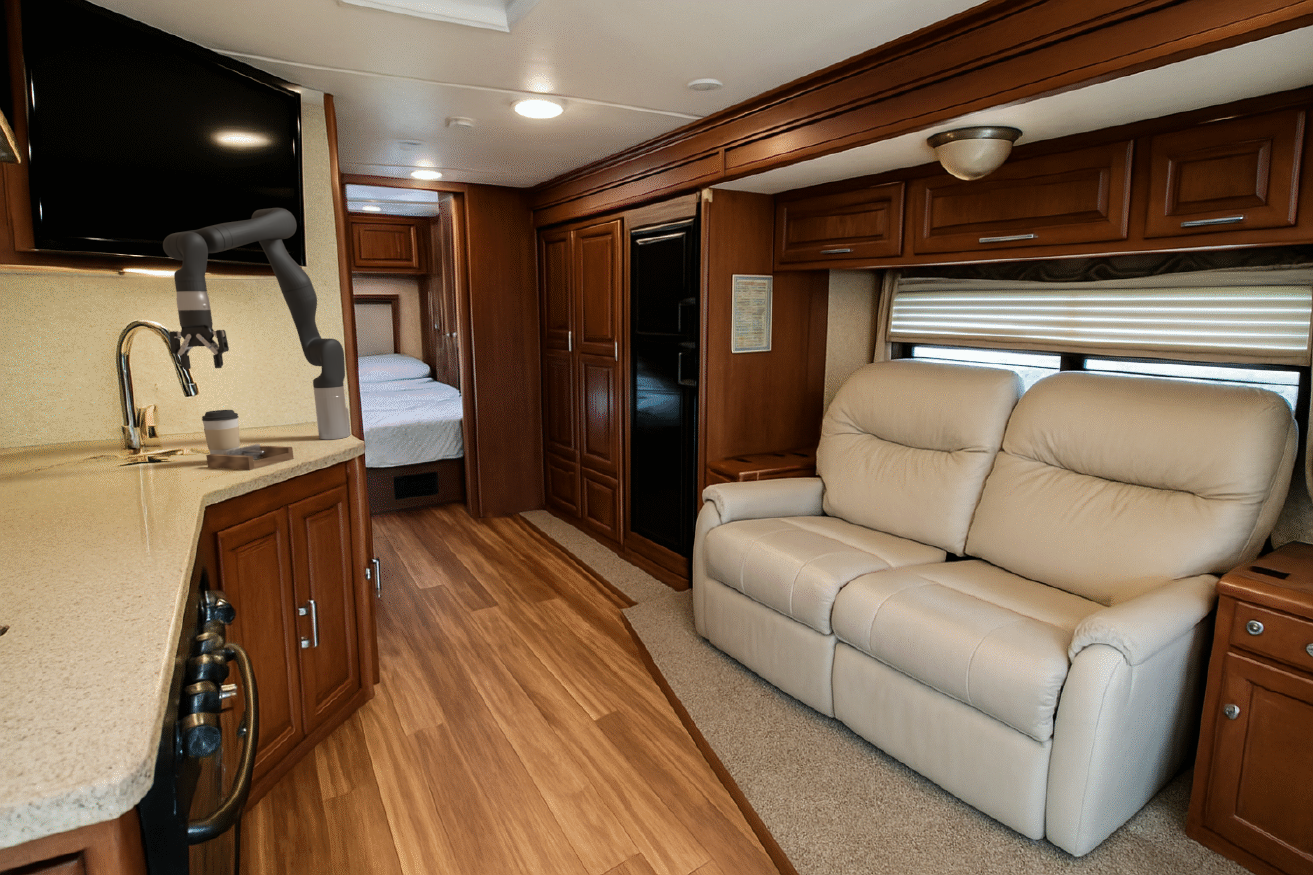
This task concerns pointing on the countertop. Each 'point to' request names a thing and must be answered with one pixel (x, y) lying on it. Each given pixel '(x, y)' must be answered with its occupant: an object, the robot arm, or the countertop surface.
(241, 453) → the pusher
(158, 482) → the countertop surface
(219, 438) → the coffee cup
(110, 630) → the countertop surface
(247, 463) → the wooden tray
